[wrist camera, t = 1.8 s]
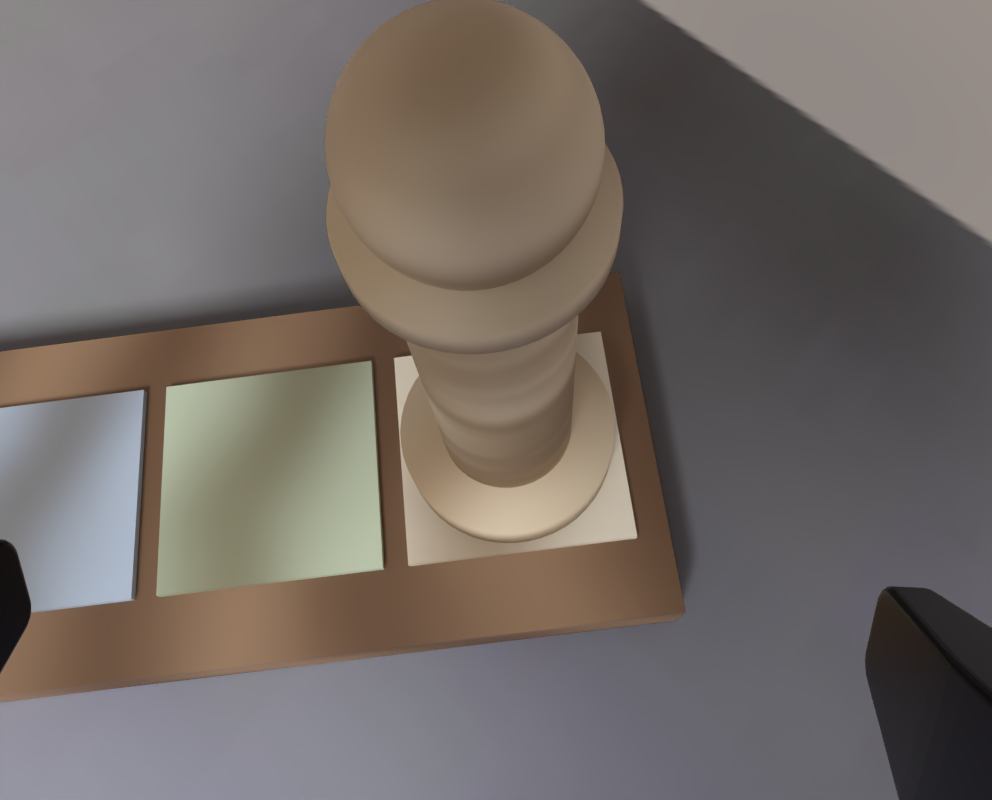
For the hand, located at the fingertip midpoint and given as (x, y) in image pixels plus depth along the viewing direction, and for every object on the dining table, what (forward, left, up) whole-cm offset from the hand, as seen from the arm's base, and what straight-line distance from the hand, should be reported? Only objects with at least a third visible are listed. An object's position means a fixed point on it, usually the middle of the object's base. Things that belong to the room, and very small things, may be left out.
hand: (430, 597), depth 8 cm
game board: (+10, +2, -12) cm, 16 cm away
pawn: (+3, -4, -10) cm, 12 cm away
